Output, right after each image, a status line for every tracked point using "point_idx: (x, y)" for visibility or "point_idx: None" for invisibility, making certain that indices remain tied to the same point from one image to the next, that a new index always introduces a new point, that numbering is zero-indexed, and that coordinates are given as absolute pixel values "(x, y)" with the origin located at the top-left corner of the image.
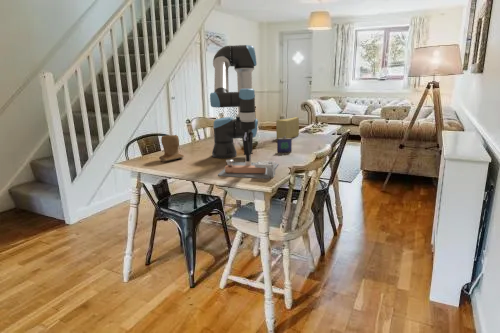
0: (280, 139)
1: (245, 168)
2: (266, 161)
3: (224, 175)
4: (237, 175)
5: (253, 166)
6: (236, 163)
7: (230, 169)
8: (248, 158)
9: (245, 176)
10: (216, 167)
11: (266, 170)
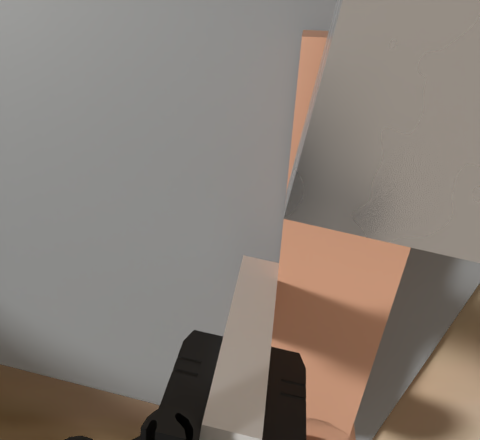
0: None
1: (379, 329)
2: (425, 21)
3: (380, 420)
4: (428, 349)
5: (337, 249)
6: (18, 341)
7: (353, 429)
8: (304, 406)
9: (474, 284)
10: (136, 436)
11: (240, 22)
